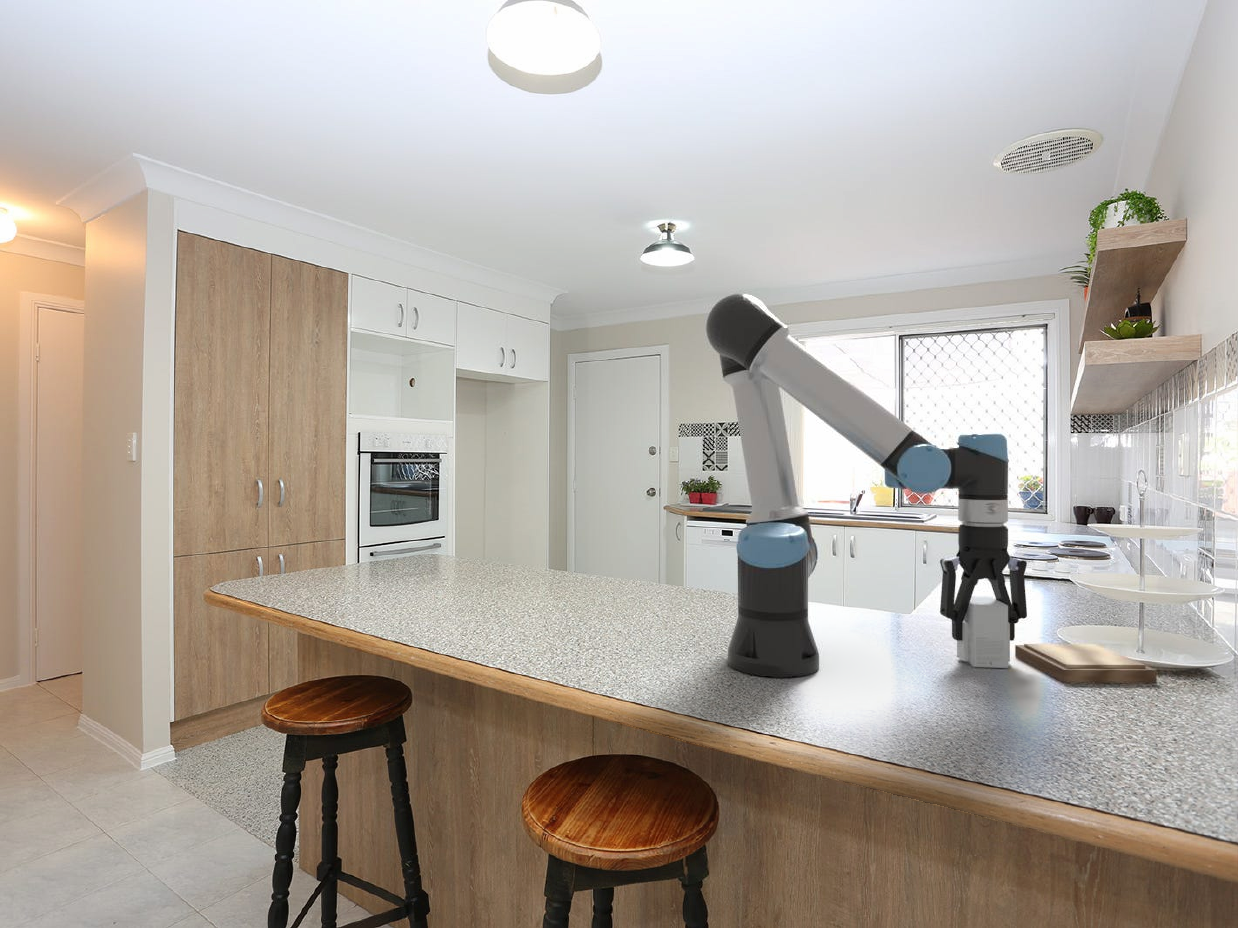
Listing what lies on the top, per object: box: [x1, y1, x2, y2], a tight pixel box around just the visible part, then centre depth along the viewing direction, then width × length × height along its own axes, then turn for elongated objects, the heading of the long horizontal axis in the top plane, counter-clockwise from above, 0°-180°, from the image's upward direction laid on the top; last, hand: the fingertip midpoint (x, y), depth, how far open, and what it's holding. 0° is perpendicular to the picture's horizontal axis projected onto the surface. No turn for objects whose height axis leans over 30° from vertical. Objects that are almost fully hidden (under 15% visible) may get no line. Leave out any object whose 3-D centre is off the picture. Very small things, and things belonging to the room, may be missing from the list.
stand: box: [1014, 643, 1158, 684], centre depth 114 cm, size 14×14×2 cm
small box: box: [964, 595, 1010, 669], centre depth 119 cm, size 8×6×10 cm
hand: (983, 658), depth 119 cm, fingers closed on small box, 6 cm apart
